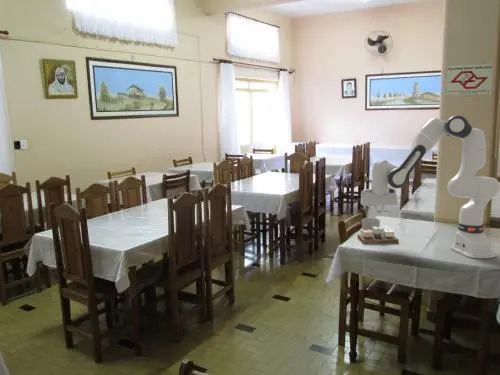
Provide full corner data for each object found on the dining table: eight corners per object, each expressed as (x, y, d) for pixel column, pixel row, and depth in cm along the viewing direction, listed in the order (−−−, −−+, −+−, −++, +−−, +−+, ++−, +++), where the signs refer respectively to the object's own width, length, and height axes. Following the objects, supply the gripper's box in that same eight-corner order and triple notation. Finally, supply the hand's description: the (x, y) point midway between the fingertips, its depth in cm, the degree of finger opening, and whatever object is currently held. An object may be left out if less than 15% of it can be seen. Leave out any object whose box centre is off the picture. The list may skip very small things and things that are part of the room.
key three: (372, 240, 250) (373, 231, 249) (364, 240, 250) (364, 231, 249) (370, 237, 255) (370, 229, 254) (361, 237, 255) (361, 229, 254)
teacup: (380, 235, 262) (380, 222, 261) (361, 234, 265) (361, 221, 263) (378, 228, 276) (378, 216, 274) (360, 228, 278) (360, 216, 277)
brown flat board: (398, 242, 247) (398, 239, 246) (363, 243, 246) (363, 240, 246) (391, 236, 259) (391, 233, 258) (357, 237, 258) (357, 234, 258)
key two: (383, 236, 250) (383, 228, 249) (374, 237, 249) (375, 228, 249) (380, 234, 254) (380, 226, 254) (372, 234, 254) (372, 226, 254)
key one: (393, 239, 250) (394, 231, 249) (385, 240, 250) (385, 231, 249) (390, 237, 255) (391, 229, 254) (382, 237, 255) (382, 229, 254)
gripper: (362, 190, 245) (361, 214, 247) (399, 190, 245) (397, 214, 247) (359, 188, 251) (358, 211, 253) (395, 187, 251) (394, 211, 254)
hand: (378, 213), depth 250 cm, fingers closed
